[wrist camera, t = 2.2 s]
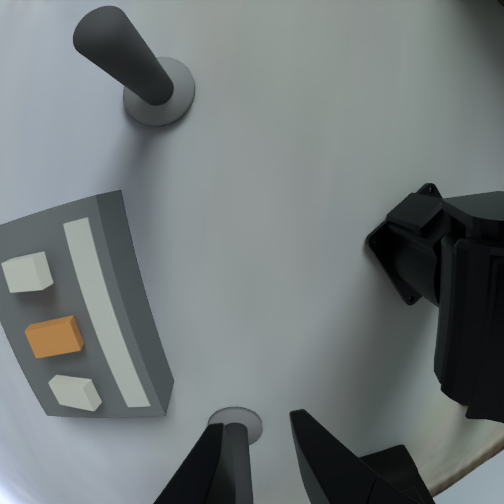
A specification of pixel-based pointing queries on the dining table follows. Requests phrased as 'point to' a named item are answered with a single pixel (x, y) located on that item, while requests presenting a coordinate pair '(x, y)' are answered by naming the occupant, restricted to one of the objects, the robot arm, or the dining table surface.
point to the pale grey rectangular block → (27, 273)
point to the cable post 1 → (135, 67)
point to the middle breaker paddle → (54, 337)
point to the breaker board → (87, 308)
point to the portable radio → (399, 472)
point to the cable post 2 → (240, 445)
